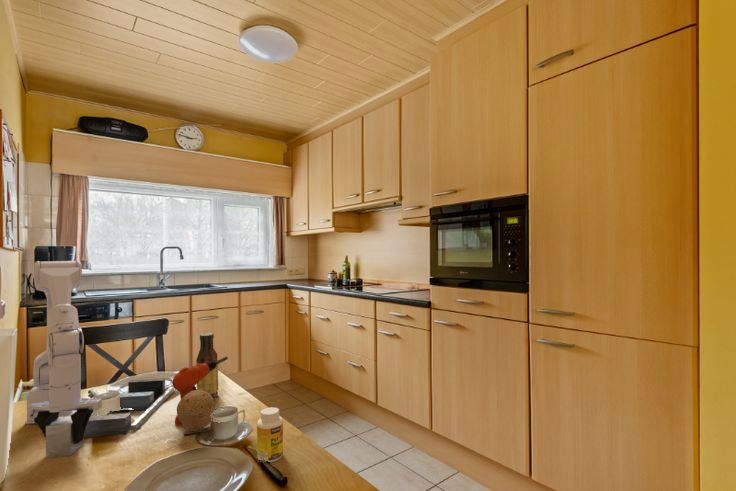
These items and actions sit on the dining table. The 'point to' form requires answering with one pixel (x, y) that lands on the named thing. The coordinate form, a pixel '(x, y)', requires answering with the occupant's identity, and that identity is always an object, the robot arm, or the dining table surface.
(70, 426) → the steel block
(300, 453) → the dining table surface
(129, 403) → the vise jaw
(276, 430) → the supplement bottle
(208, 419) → the natural sponge
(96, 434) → the vise base
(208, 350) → the sauce bottle
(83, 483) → the dining table surface
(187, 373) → the toy drill
